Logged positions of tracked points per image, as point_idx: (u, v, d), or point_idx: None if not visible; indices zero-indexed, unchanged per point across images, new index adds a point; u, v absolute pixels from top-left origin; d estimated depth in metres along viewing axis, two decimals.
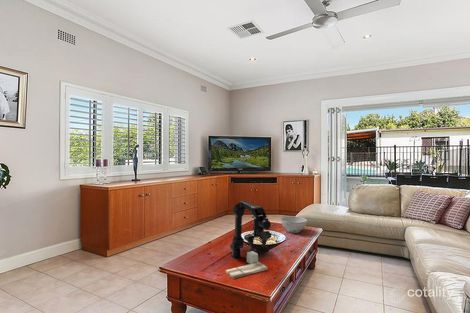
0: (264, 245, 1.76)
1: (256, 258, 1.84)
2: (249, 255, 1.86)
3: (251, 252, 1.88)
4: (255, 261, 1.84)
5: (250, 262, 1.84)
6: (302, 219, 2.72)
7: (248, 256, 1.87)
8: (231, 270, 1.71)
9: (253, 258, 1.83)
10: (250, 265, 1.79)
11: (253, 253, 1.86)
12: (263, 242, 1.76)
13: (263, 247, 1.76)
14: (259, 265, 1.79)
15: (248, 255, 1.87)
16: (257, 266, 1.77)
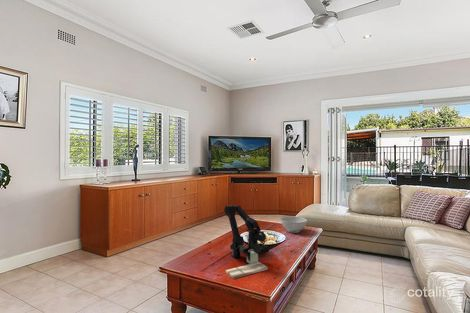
0: None
1: (256, 258, 1.84)
2: None
3: (251, 252, 1.88)
4: (255, 261, 1.84)
5: (250, 262, 1.84)
6: (302, 219, 2.72)
7: None
8: (231, 270, 1.71)
9: (253, 258, 1.83)
10: (250, 265, 1.79)
11: (253, 253, 1.86)
12: None
13: None
14: (259, 265, 1.79)
15: None
16: (257, 266, 1.77)
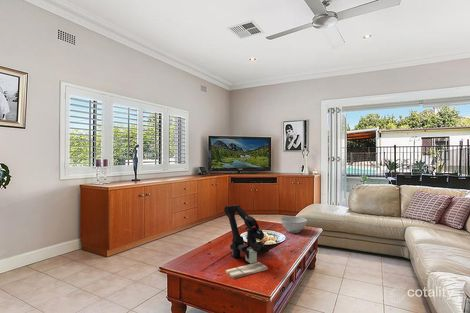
0: None
1: (255, 256, 1.84)
2: None
3: (250, 250, 1.88)
4: (254, 259, 1.83)
5: (249, 260, 1.84)
6: (302, 219, 2.72)
7: None
8: (231, 270, 1.71)
9: (252, 256, 1.83)
10: (250, 265, 1.79)
11: (252, 251, 1.86)
12: None
13: None
14: (259, 265, 1.79)
15: None
16: (257, 266, 1.77)
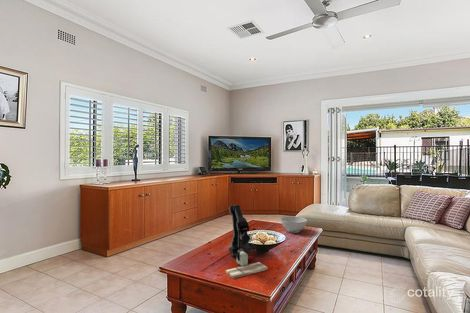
0: None
1: (246, 258, 1.80)
2: None
3: (241, 252, 1.84)
4: (245, 261, 1.80)
5: (240, 262, 1.80)
6: (302, 219, 2.72)
7: None
8: (231, 270, 1.71)
9: (243, 258, 1.79)
10: (250, 265, 1.79)
11: (243, 253, 1.82)
12: None
13: None
14: (259, 265, 1.79)
15: None
16: (257, 266, 1.77)
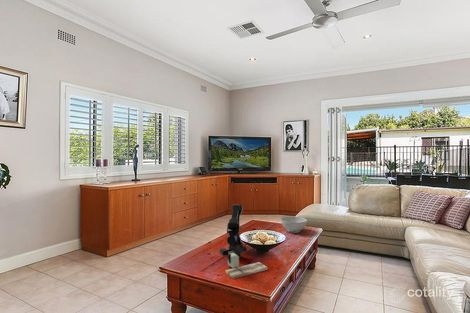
0: None
1: (237, 260, 1.76)
2: None
3: (232, 254, 1.80)
4: (236, 263, 1.76)
5: (231, 265, 1.76)
6: (302, 219, 2.72)
7: None
8: (231, 270, 1.71)
9: (234, 260, 1.75)
10: (250, 265, 1.79)
11: (234, 255, 1.78)
12: None
13: None
14: (259, 265, 1.79)
15: None
16: (257, 266, 1.77)
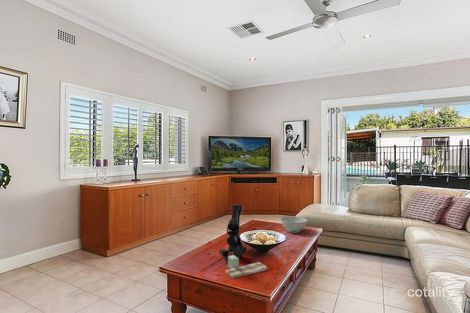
0: (239, 259, 1.81)
1: (237, 263, 1.76)
2: (229, 259, 1.78)
3: (232, 256, 1.80)
4: (236, 266, 1.76)
5: (230, 267, 1.76)
6: (302, 219, 2.72)
7: (229, 260, 1.79)
8: (231, 270, 1.71)
9: (233, 263, 1.75)
10: (250, 265, 1.79)
11: (234, 257, 1.78)
12: (238, 256, 1.81)
13: None
14: (259, 265, 1.79)
15: (229, 259, 1.79)
16: (257, 266, 1.77)
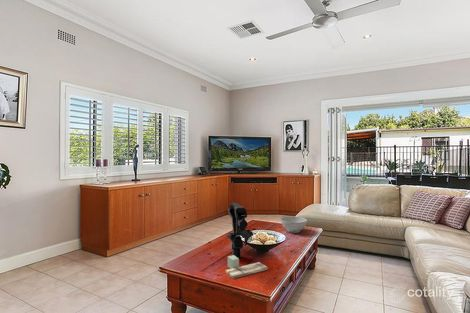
0: (246, 243, 1.88)
1: (237, 263, 1.76)
2: (229, 259, 1.78)
3: (232, 256, 1.80)
4: (236, 266, 1.76)
5: (230, 267, 1.76)
6: (302, 219, 2.72)
7: (229, 260, 1.79)
8: (231, 270, 1.71)
9: (233, 263, 1.75)
10: (250, 265, 1.79)
11: (234, 257, 1.78)
12: (245, 240, 1.88)
13: None
14: (259, 265, 1.79)
15: (229, 259, 1.79)
16: (257, 266, 1.77)
